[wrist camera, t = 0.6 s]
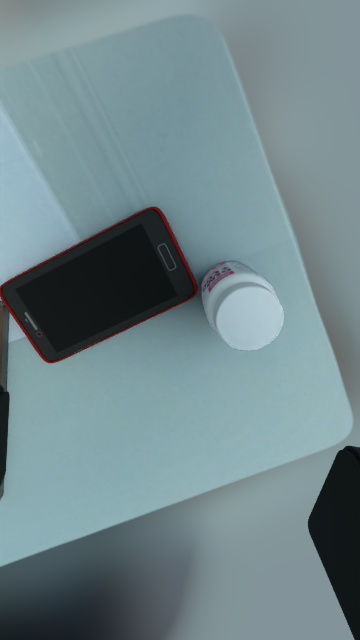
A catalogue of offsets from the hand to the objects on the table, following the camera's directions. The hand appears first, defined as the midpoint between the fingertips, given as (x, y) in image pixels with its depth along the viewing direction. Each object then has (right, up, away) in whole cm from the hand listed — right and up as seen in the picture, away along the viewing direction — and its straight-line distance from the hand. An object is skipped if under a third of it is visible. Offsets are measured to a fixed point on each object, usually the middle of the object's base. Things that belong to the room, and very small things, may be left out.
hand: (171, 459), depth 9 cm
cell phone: (-6, +7, +17) cm, 20 cm away
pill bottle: (+4, +7, +18) cm, 19 cm away
